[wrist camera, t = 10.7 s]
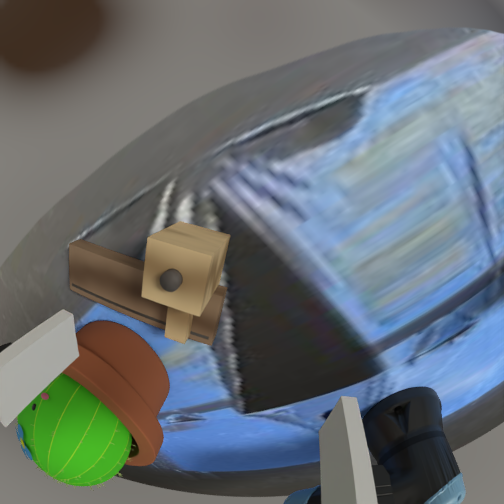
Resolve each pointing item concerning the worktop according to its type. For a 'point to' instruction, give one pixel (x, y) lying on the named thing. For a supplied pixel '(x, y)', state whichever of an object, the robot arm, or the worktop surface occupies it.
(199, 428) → the worktop surface
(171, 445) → the worktop surface
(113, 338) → the potted cactus
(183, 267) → the tan wooden block
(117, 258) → the board
